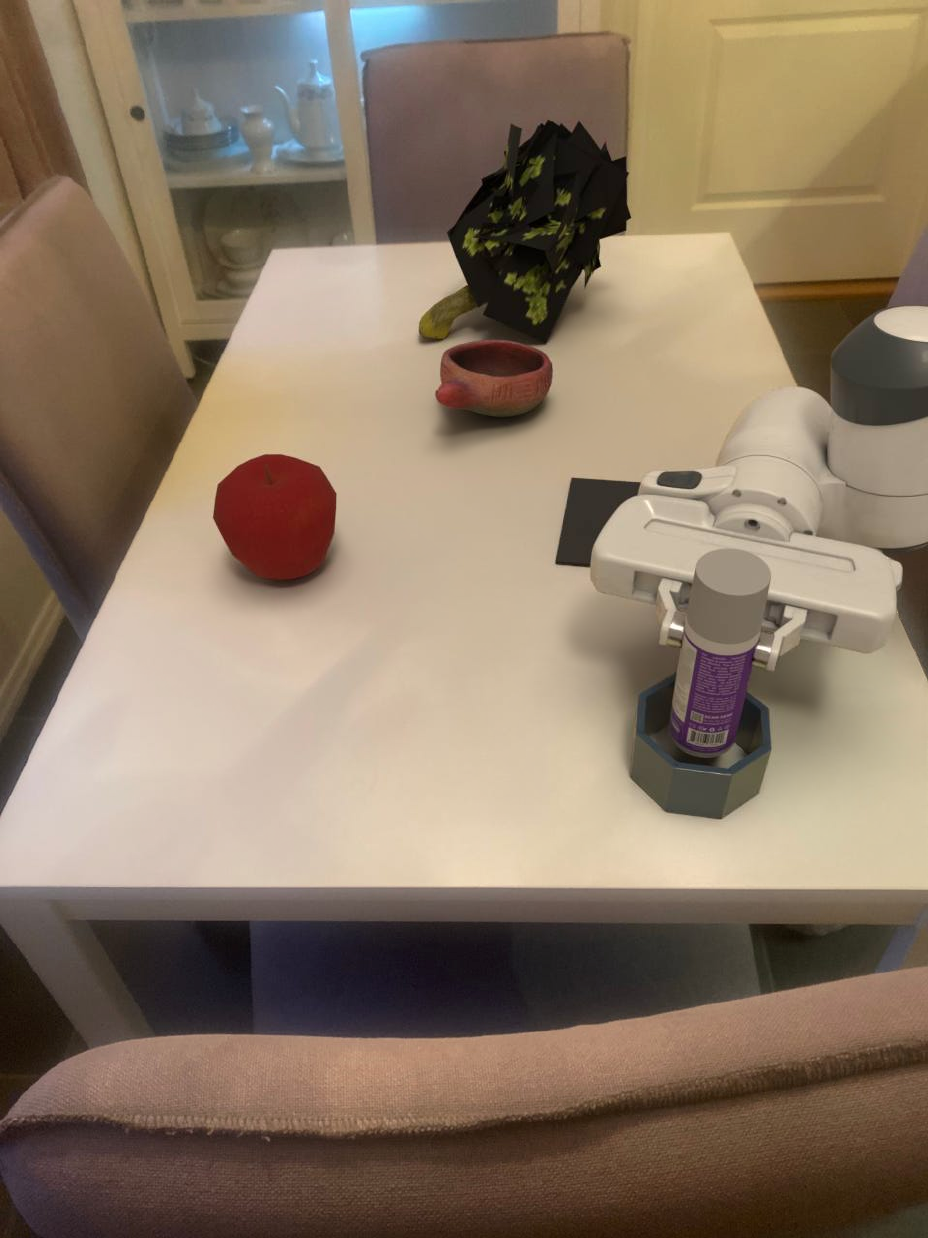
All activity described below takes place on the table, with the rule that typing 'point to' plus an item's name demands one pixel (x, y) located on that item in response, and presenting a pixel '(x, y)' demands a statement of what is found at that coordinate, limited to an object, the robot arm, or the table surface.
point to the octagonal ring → (692, 783)
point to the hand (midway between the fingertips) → (715, 650)
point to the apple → (276, 515)
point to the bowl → (494, 377)
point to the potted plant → (534, 230)
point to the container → (718, 650)
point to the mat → (589, 516)
